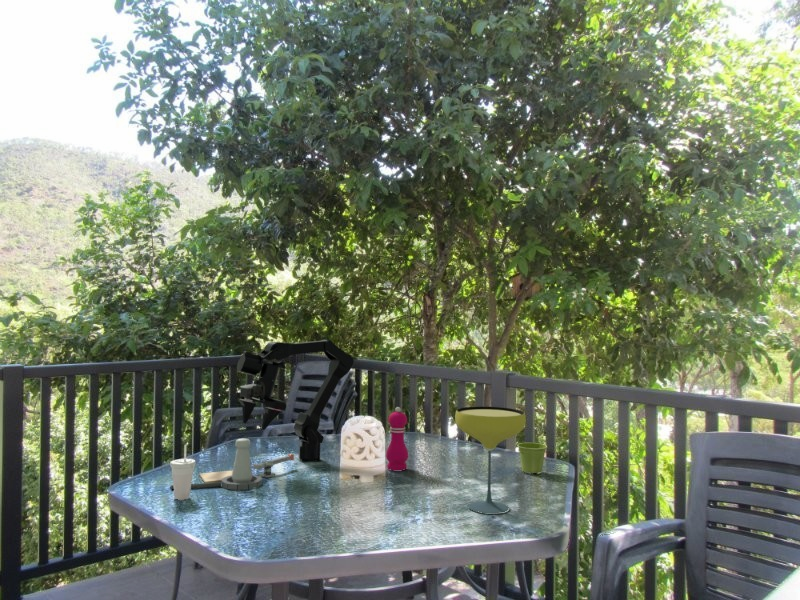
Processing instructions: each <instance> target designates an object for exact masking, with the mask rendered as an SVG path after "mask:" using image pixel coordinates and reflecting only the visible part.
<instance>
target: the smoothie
mask: <svg viewBox="0 0 800 600" xmlns="http://www.w3.org/2000/svg"><path fill="white" fill-rule="evenodd" d="M183 451H184V452H183V458H178V459H173V460H171V461H170V463H169V466H170V467H171V476H172V485H173V488H174V490H173V496H174V500H175V499H178V500H177V501H184V499H186V500H188V499H190V495H191V490H192V488H191V484H193V482H192V481H193V477H194V476H193V475H194V468H195V466H196V460H195V459H193V458H187V444H184V448H183Z"/></svg>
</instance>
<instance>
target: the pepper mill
mask: <svg viewBox="0 0 800 600" xmlns="http://www.w3.org/2000/svg"><path fill="white" fill-rule="evenodd" d="M388 423H389V425H390V427H389V432H390V433H391V440H390V443H389V444H388V447H387V449H386V453H385V459H386V460H387V461H388V462H387V465H386V468H388V469H391V470H403V469H406V468H407V466H408V464H407V463H406V462H407V461H408V459H409V451H408V448H407V446H406V444H405V439H404V436H405V432H406V427H405V425H407V423H408V417H407V415H406V414H405V413H404V412H402V409H401V407H399V406H396V407H395V410H394V412H392V413H391V414H389V416H388ZM388 469H387V470H388ZM406 470H407V469H406Z"/></svg>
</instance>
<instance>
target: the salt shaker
mask: <svg viewBox="0 0 800 600" xmlns="http://www.w3.org/2000/svg"><path fill="white" fill-rule="evenodd" d="M234 445H235V448H236V453H235V458H234V464H233V468H232V470H233V472H232V480H233V482H232V483H248V482H252V481H251V479H252V475H253V470H252V465H251V458H250V451H249V448H250V447H251V440H250V439H249V438H243V437H242V438H238V439H236V440H235V444H234Z"/></svg>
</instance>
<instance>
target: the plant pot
mask: <svg viewBox="0 0 800 600" xmlns="http://www.w3.org/2000/svg"><path fill="white" fill-rule="evenodd" d="M516 444H517V443H516ZM516 446H517V447H518V451H519V457H520V465H521V471H522V472H523V471H524V472H530V473H538V472H541V471H542V472H543V466H544V460H545V454H546V450H547V449H548V446H547V445H546V444H543V443H539V442H519V443H518V444H517V445H516ZM524 472H523V473H524Z"/></svg>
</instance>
